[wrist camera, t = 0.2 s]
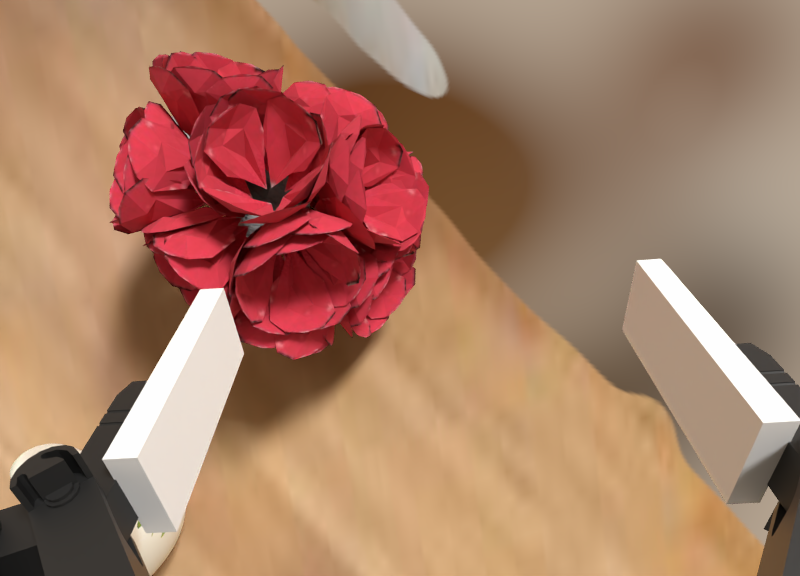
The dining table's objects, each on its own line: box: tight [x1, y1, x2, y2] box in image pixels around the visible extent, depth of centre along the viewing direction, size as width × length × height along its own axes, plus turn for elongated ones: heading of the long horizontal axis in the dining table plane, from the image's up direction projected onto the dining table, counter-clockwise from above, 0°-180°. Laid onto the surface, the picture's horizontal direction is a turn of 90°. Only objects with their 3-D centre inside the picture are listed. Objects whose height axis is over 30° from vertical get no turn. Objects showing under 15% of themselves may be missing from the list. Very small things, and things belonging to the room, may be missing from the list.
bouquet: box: [110, 51, 429, 360], centre depth 43 cm, size 22×24×30 cm
